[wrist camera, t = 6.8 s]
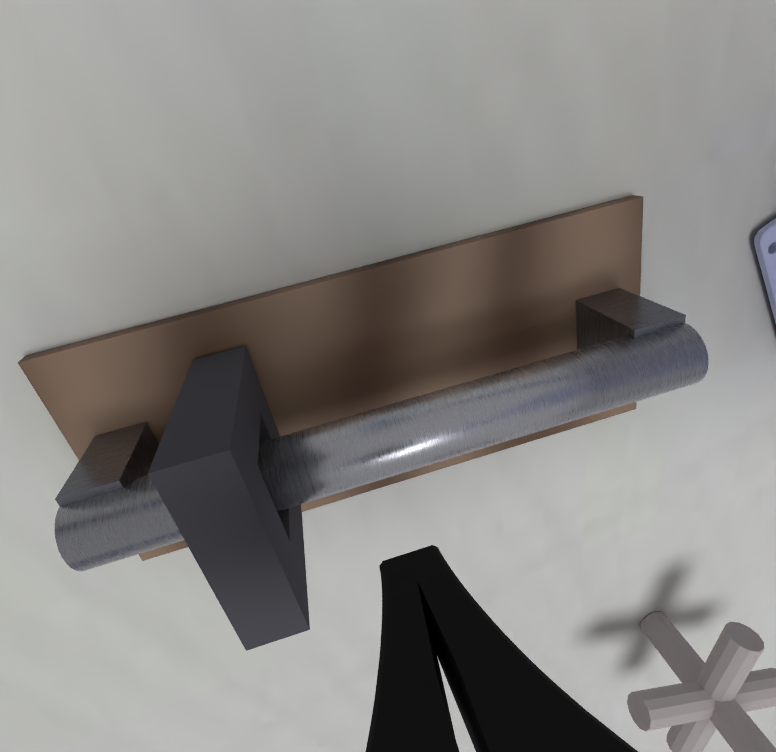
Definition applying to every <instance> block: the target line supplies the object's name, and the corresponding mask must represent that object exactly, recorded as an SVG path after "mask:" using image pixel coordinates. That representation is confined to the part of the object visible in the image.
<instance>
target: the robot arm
mask: <svg viewBox="0 0 776 752" xmlns="http://www.w3.org/2000/svg"><path fill="white" fill-rule="evenodd" d="M754 245H755V249H756V253H757V256H758V260H759V264H760V267H761V271H762V275H763V279H764V282H765V286H766V290H767V293H768V297H769V301H770V305H771V308H772V312H773V316H774V319H775V323H776V218H775V219H774V220H772V221H771V222H769V223H768V224H767V225H765V226H764V227H762V228H761V229H760V230H759V231H758V232H757V234H756V235H755V238H754ZM770 245H771V246H770ZM769 246H770V248H769ZM768 248H769V249H768ZM380 572H381V580H382V631H381V647H380V659H379V668H378V676H377V685H376V693H375V701H374V707H373V714H372V720H371V726H370V731H369V737H368V742H367V748H366V752H459V749H458V746H457V743H456V739H455V735H454V730H453V726H452V721H451V717H450V712H449V708H448V703H447V699H446V694H445V690H444V685H443V681H442V676H441V672H440V667H439V663H438V659H439V661H440V664H441V666H442V669H443V671H444V674H445V676H446V678H447V681H448V683H449V686H450V688H451V691H452V693H453V696H454V698H455V701H456V703H457V706H458V708H459V711H460V713H461V715H462V718H463V720H464V723H465V725H466V728H467V730H468V733H469V735H470V738H471V740H472V743H473V745H474V748H475V750H476V752H638V751H637V750H635V749H634V748H633V747H631V746H630V745H629V744H628V743H626V742H625V741H624V740H623V739H621V738H620V737H619V736H618V735H616V734H615V733H614V732H613V731H611V730H610V729H609V728H608V727H606V726H605V725H604V724H602V723H601V722H600V721H599V720H597V719H596V718H595V717H594V716H592V715H591V714H590V713H589V712H587V711H586V710H585V709H584V708H583V707H581V706H580V705H579V704H578V703H577V702H576V701H575V700H573V699H572V698H571V697H570V696H569V695H568V694H567V693H565V692H564V691H563V690H562V689H561V688H560V687H559V686H557V685H556V684H555V683H554V682H553V681H552V680H551V679H550V678H549V677H548V676H547V675H545V674H544V673H543V672H542V671H541V670H540V669H539V668H538V667H537V666H536V665H535V664H534V663H533V662H532V661H531V660H530V659H529V658H528V657H527V656H526V655H525V654H524V653H523V652H522V651H521V650H520V649H519V648H518V647H517V646H516V645H515V644H514V643H513V642H512V641H511V640H510V639H509V638H508V637H507V636H506V635H505V634H504V633H503V632H502V631H501V629H500V628H499V627H498V626H497V625H496V624H495V623H494V622H493V621H492V619H491V618H490V617H489V616H488V615H487V614H486V613H485V611H484V610H483V609H482V608H481V607H480V606H479V604H478V603H477V602H476V601H475V600H474V599H473V597H472V596H471V595H470V594H469V592H468V591H467V590H466V589H465V587H464V586H463V585H462V583H461V582H460V581H459V579H458V578H457V577H456V575H455V574H454V572H453V571H452V570H451V568H450V567H449V565H448V564H447V562H446V561H445V559H444V557H443V556H442V554H441V552H440V551H439V549H438V547H436V546H433V545H431V546H428V547H425V548H422V549H419V550H416V551H413V552H410V553H407V554H404V555H400V556H397V557H394V558H391V559H388V560H385V561H383V562H382V563H381V565H380ZM437 656H438V658H437Z"/></svg>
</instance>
